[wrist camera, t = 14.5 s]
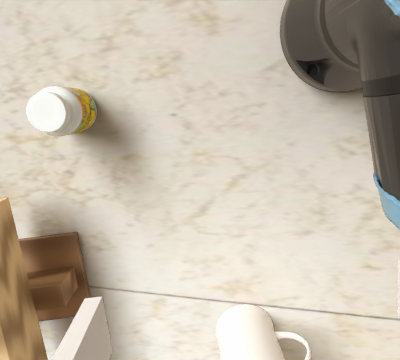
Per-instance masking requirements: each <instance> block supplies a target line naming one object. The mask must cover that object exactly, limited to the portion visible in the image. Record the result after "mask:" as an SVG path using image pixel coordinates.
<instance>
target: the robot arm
mask: <svg viewBox="0 0 400 360" xmlns="http://www.w3.org/2000/svg"><path fill="white" fill-rule="evenodd" d="M280 38H281V45H282V49H283V52H284V55H285V58H286V60H287V62H288V64H289V65H290V67H291V68H292V70H293V71H294V72H295V73H296V74H297V75H298V76H299V77H300V78H301V79H302V80H303V81H305V82H306V83H308V84H309V85H311V86H313V87H316V88H318V89H321V90H325V91H334V92H338V91H349V90H355V89H359V88H362V89H363V97H364V104H365V111H366V118H367V124H368V131H369V138H370V145H371V151H372V158H373V165H374V174H373V178H374V182H375V184H376V186H377V188H378V190H379V195H380V199H381V204H382V208H383V211H384V213H385V215H386V217H387V218H388V219H389V220H390V221H391V222H392V223H393V224H394V225H395V226H396V227H397V228H398V229H399V230H400V0H287V1H286V4H285V6H284V9H283V13H282V17H281V24H280ZM398 316H399V317H400V260H398ZM112 352H113V349H112V344H111V339H110V334H109V329H108V324H107V319H106V314H105V309H104V303H103V298H102V296H101V297H93V298H85V299H84V301H83V303H82V305H81V306H80V308H79V310H78V312H77V314H76V316H75V317H74V319H73V321H72V323H71V325H70V327H69V328H68V330H67V332H66V334H65V336H64V337H63V339H62V341H61V343H60V345H59V347H58V348H57V350H56V352H55V354H54V356H53V358H52V359H51V360H110V358H111V355H112Z"/></svg>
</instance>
